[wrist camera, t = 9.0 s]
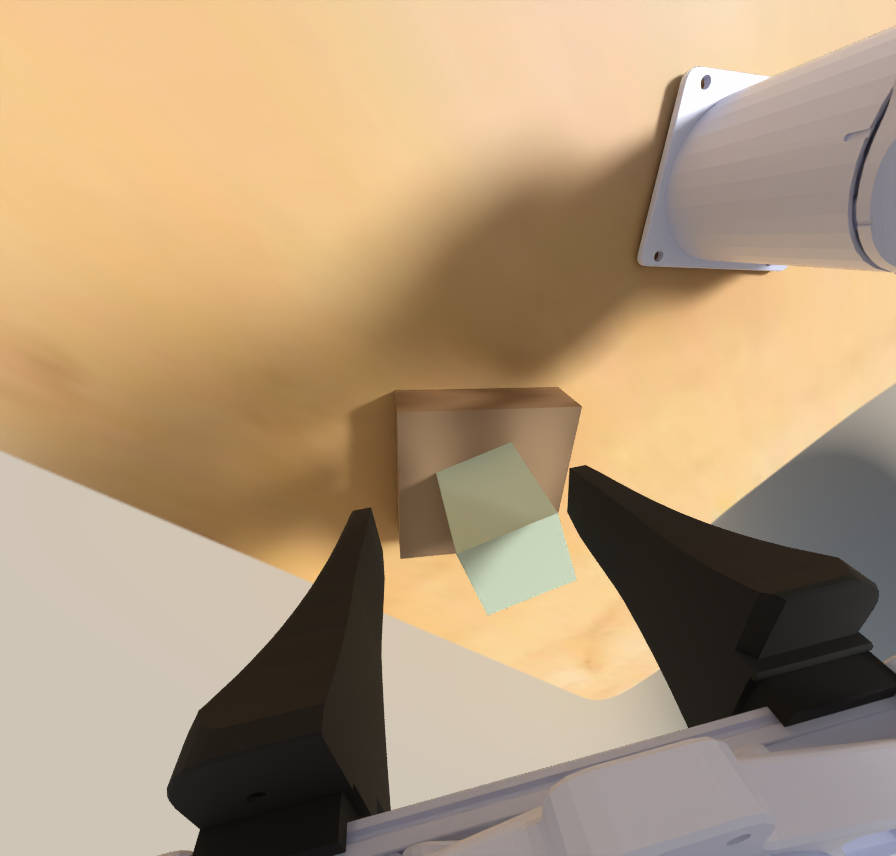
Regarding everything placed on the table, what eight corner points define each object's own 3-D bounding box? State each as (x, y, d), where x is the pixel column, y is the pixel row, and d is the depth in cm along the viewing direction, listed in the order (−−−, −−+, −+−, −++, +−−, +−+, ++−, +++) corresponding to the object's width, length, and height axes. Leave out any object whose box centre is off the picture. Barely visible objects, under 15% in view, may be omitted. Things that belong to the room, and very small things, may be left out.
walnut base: (558, 387, 23) (581, 406, 20) (534, 514, 27) (551, 543, 25) (394, 390, 21) (397, 412, 18) (398, 525, 26) (400, 558, 23)
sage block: (511, 442, 20) (557, 513, 15) (530, 500, 22) (576, 579, 17) (436, 472, 20) (456, 553, 15) (462, 527, 23) (487, 615, 17)
